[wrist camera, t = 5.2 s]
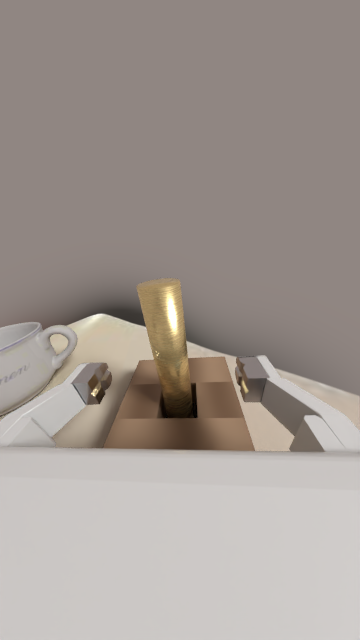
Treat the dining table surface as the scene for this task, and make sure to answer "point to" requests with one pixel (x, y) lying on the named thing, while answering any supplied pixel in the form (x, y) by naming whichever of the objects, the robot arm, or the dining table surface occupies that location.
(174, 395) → the pin
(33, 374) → the teacup
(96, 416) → the dining table surface
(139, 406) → the pin block
